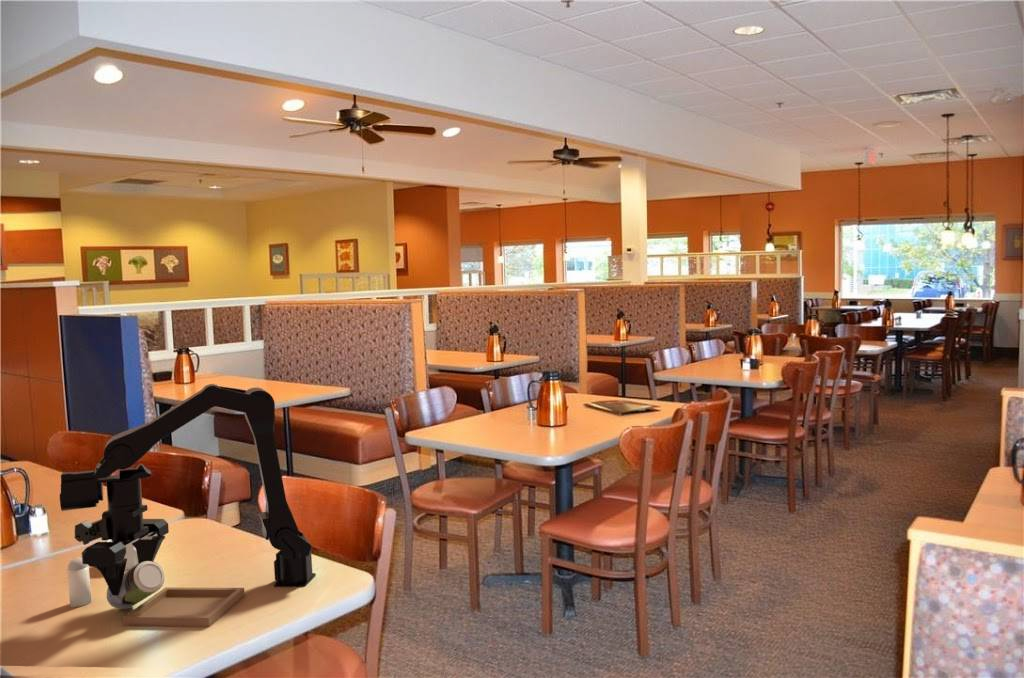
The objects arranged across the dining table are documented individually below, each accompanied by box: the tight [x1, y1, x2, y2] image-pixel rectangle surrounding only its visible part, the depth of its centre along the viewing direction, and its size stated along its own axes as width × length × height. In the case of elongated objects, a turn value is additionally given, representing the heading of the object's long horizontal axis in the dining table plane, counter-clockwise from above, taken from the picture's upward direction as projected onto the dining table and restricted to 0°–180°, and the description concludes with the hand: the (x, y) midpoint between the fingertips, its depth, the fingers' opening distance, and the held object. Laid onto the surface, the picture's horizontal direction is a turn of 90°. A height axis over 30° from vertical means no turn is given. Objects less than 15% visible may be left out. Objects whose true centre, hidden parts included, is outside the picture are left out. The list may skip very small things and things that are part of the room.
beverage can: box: [106, 561, 165, 610], centre depth 149 cm, size 6×7×12 cm
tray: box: [122, 586, 246, 628], centre depth 149 cm, size 16×14×2 cm
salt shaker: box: [67, 556, 92, 608], centre depth 154 cm, size 4×4×9 cm
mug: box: [105, 540, 138, 571], centre depth 175 cm, size 12×10×6 cm
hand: (130, 585), depth 150 cm, fingers open, 9 cm apart
